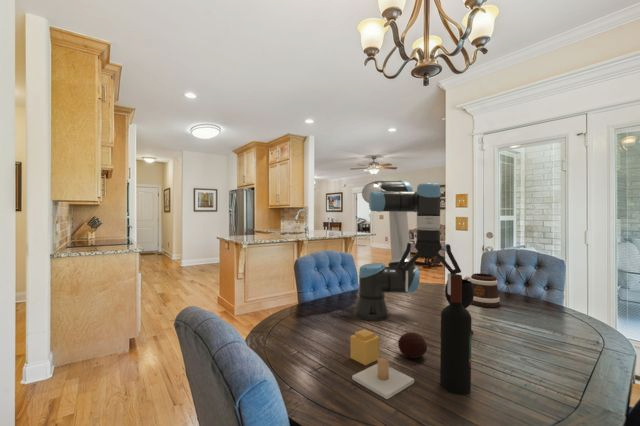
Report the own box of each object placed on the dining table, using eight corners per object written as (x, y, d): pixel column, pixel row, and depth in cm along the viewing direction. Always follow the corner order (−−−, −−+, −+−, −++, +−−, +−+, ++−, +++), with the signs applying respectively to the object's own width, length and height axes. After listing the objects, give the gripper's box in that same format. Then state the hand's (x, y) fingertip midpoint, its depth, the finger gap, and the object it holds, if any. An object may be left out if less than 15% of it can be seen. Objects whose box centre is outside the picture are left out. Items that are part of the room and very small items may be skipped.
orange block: (350, 357, 98) (350, 332, 98) (363, 352, 102) (364, 327, 102) (365, 365, 93) (365, 338, 93) (379, 359, 97) (379, 333, 97)
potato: (395, 351, 103) (395, 328, 103) (423, 351, 103) (423, 328, 103) (401, 362, 95) (401, 337, 95) (431, 363, 95) (431, 338, 95)
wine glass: (476, 337, 116) (477, 284, 116) (447, 334, 118) (448, 282, 118) (469, 327, 126) (469, 278, 126) (442, 325, 128) (442, 277, 128)
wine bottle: (435, 379, 86) (436, 272, 86) (460, 378, 86) (462, 272, 86) (448, 395, 78) (449, 278, 78) (476, 394, 79) (478, 277, 79)
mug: (506, 305, 157) (506, 276, 157) (487, 309, 150) (488, 279, 150) (471, 296, 174) (471, 270, 174) (453, 299, 167) (453, 272, 167)
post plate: (352, 379, 85) (352, 357, 85) (379, 365, 93) (379, 346, 93) (387, 399, 76) (387, 375, 76) (414, 382, 84) (414, 360, 84)
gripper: (390, 228, 103) (389, 292, 102) (471, 230, 96) (470, 298, 96) (390, 227, 110) (390, 287, 110) (466, 229, 104) (465, 292, 104)
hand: (427, 292), depth 103 cm, fingers open, 13 cm apart
